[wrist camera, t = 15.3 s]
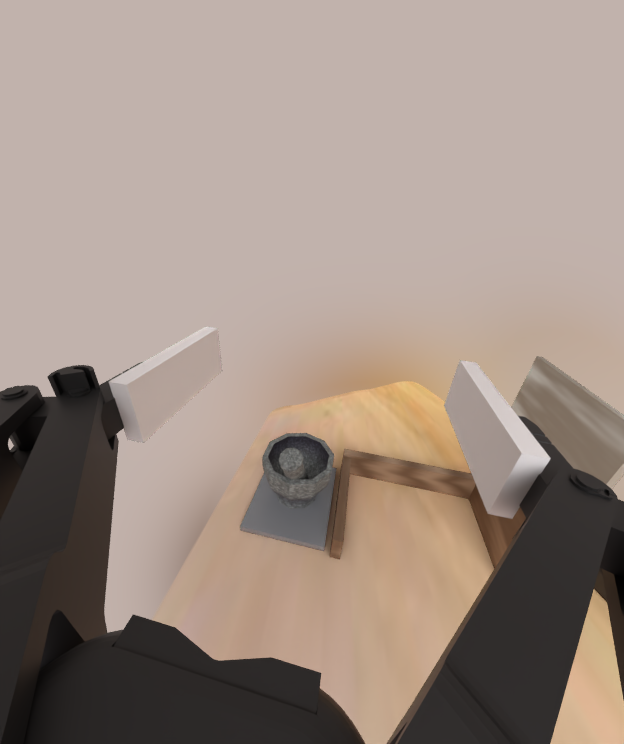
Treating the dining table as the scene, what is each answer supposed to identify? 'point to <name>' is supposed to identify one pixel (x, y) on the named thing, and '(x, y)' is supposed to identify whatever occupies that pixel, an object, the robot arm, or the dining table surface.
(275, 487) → the mortar and pestle
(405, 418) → the dining table surface
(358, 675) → the dining table surface
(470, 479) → the brown piece
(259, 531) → the slate pad
